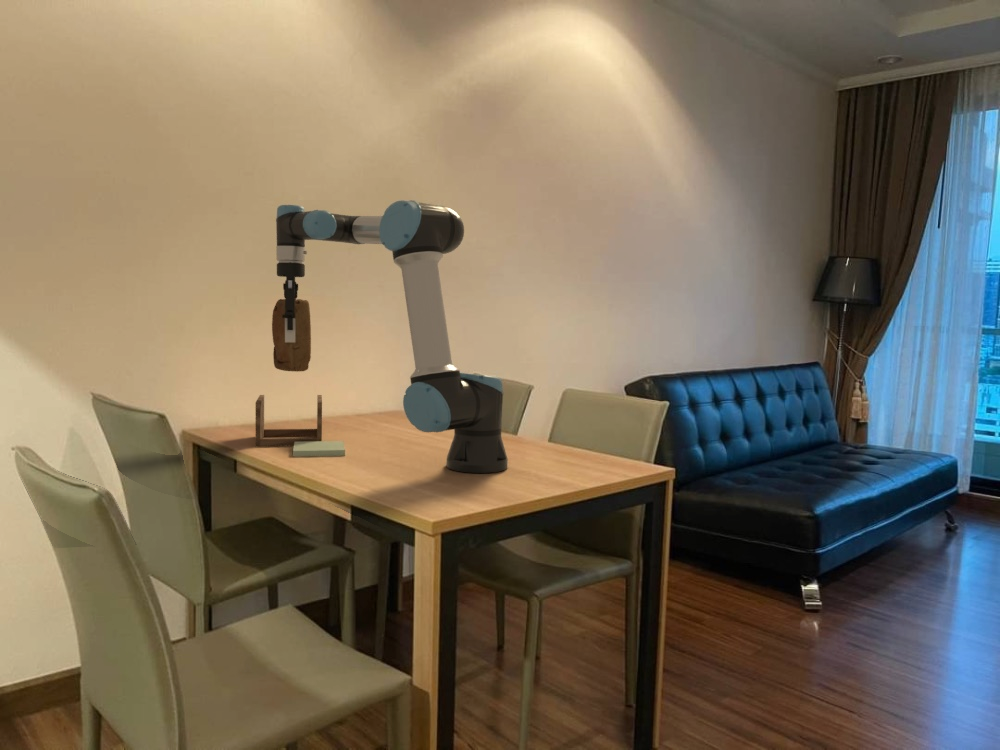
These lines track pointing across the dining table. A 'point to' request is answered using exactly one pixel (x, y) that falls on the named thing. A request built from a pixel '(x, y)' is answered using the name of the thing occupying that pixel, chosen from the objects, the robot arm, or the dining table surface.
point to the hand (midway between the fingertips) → (290, 341)
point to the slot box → (284, 432)
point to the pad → (318, 448)
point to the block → (297, 352)
